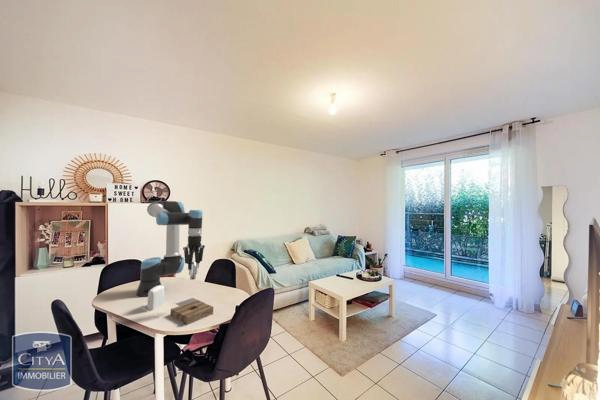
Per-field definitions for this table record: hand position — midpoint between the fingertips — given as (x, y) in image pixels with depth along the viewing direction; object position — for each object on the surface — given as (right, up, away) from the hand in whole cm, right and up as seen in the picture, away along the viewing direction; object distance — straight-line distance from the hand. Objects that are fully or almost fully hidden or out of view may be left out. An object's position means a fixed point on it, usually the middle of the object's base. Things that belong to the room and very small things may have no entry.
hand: (193, 274), depth 142 cm
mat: (-5, -21, +6) cm, 22 cm away
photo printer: (-22, -20, 0) cm, 30 cm away
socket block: (+3, -20, -8) cm, 22 cm away
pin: (0, -3, 0) cm, 3 cm away
